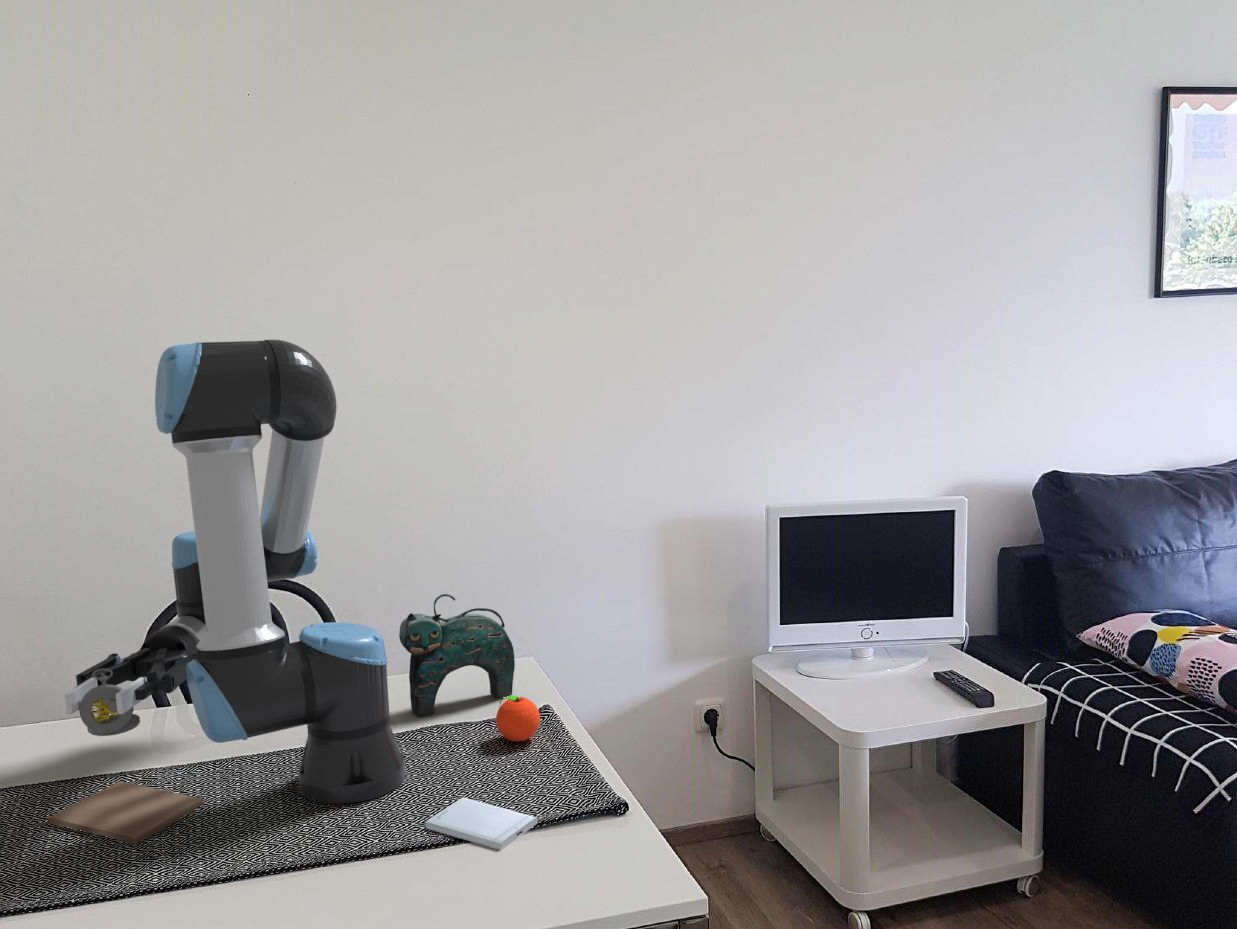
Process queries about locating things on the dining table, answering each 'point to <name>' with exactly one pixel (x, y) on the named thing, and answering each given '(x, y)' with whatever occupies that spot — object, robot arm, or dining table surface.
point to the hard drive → (481, 823)
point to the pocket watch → (105, 710)
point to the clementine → (517, 718)
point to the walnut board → (126, 812)
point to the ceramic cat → (455, 653)
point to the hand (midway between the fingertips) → (94, 704)
